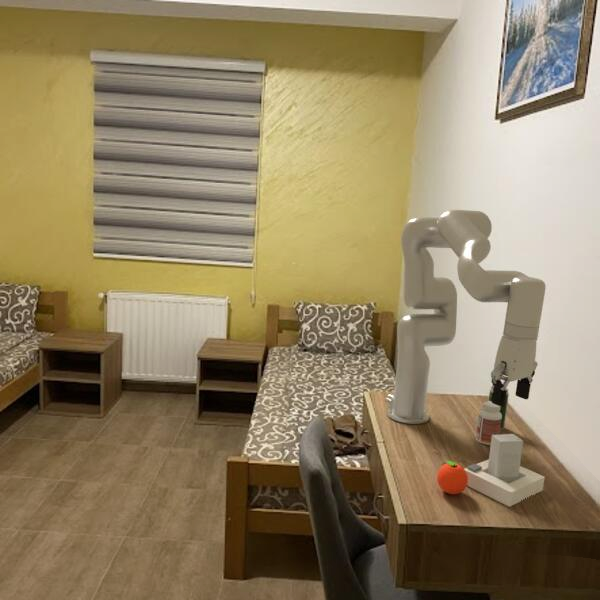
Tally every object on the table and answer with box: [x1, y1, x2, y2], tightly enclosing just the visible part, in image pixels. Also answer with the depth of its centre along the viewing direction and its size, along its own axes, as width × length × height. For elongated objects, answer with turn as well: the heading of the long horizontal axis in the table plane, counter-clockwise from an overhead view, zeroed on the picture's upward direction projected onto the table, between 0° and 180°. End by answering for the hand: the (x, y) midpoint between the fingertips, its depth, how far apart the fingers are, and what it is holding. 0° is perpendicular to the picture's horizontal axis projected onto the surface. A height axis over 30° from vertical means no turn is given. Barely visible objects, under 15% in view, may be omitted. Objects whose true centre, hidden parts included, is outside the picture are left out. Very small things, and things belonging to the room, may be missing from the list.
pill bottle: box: [475, 400, 502, 446], centre depth 175 cm, size 6×6×11 cm
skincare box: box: [487, 433, 524, 484], centre depth 149 cm, size 6×4×12 cm
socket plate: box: [464, 458, 546, 507], centre depth 149 cm, size 13×14×4 cm
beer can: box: [487, 385, 510, 431], centre depth 185 cm, size 5×5×12 cm
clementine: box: [436, 460, 468, 495], centre depth 145 cm, size 8×7×7 cm
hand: (510, 401), depth 148 cm, fingers open, 9 cm apart
